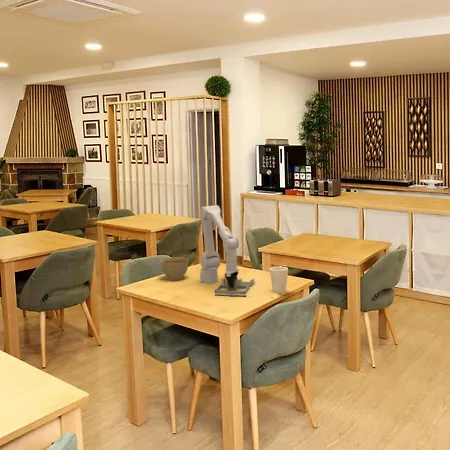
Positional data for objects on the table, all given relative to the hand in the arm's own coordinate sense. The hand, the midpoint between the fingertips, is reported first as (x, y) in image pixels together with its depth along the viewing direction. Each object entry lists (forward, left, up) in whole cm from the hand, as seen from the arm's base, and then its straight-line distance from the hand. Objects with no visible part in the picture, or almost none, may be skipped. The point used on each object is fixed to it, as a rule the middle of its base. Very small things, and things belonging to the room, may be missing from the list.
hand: (232, 286), depth 291 cm
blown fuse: (0, 0, -1) cm, 1 cm away
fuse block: (0, +13, -4) cm, 14 cm away
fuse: (-4, +13, -2) cm, 14 cm away
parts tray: (0, 0, -4) cm, 4 cm away
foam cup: (+24, +4, -4) cm, 25 cm away
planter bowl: (-40, +25, -4) cm, 48 cm away
